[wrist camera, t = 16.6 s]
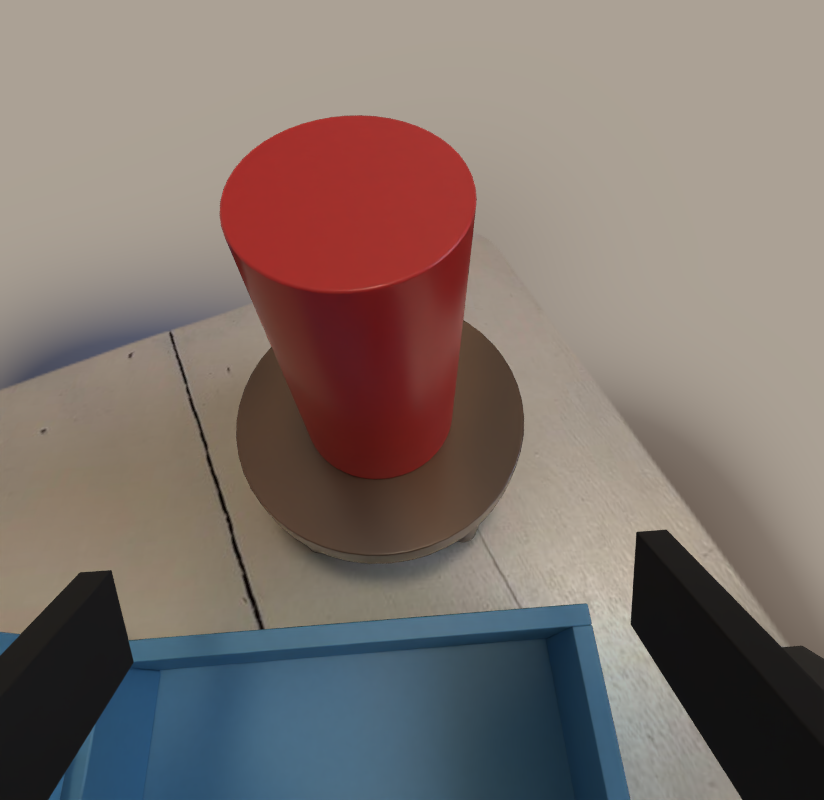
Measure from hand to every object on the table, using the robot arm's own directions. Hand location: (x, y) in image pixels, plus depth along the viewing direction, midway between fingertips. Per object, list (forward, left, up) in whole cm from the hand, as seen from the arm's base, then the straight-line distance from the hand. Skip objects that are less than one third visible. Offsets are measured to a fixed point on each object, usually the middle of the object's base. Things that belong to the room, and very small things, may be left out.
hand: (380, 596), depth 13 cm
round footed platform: (0, -9, -14) cm, 17 cm away
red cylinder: (0, -9, -7) cm, 12 cm away
